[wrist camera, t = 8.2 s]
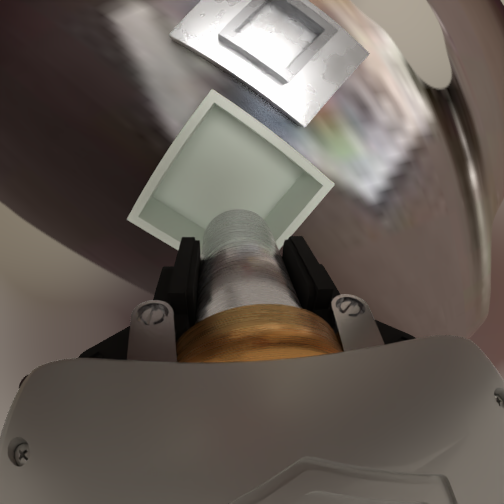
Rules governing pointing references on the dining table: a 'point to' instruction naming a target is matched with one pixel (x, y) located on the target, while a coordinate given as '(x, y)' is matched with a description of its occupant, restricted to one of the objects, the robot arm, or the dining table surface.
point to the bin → (227, 177)
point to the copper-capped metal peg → (249, 299)
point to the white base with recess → (274, 50)
